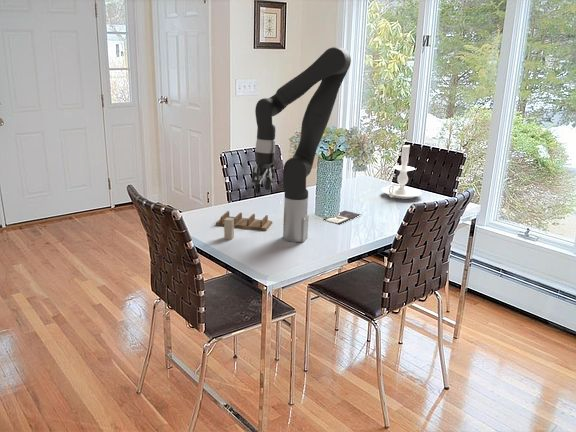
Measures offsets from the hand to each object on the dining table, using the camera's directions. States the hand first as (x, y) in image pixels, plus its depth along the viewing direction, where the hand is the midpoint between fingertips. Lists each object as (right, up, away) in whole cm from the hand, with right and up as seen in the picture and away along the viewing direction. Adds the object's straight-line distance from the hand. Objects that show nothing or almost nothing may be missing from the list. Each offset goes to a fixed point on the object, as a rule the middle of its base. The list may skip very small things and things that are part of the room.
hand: (262, 191), depth 208 cm
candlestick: (+68, 0, +68) cm, 96 cm away
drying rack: (-9, -13, +17) cm, 23 cm away
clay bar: (-13, -19, 0) cm, 23 cm away
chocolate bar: (+35, -11, +31) cm, 48 cm away
